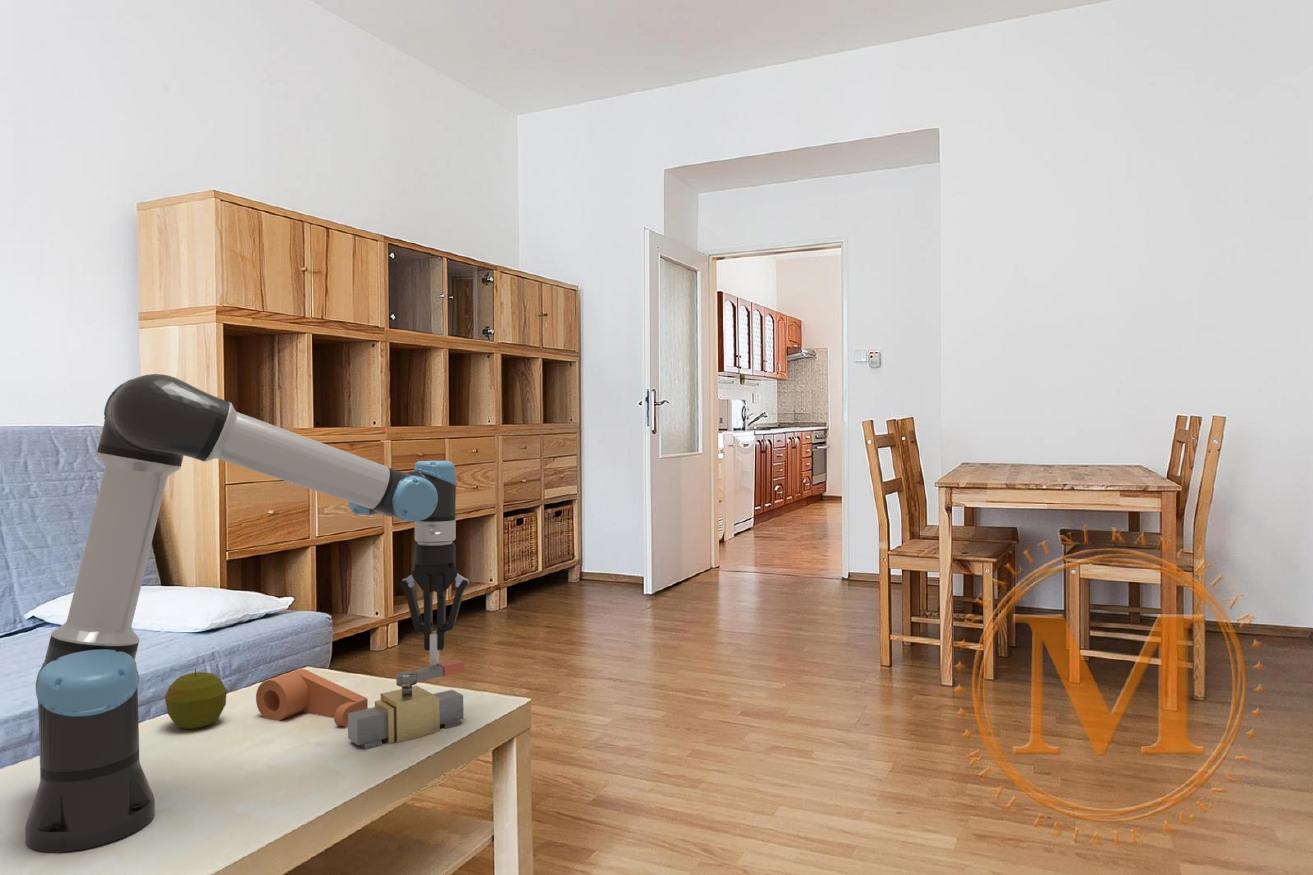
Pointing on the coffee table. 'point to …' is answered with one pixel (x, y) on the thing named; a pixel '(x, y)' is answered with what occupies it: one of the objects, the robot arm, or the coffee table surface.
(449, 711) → the grey and tan assembly
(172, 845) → the coffee table surface
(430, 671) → the lever
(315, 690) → the orange bent piece
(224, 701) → the apple
